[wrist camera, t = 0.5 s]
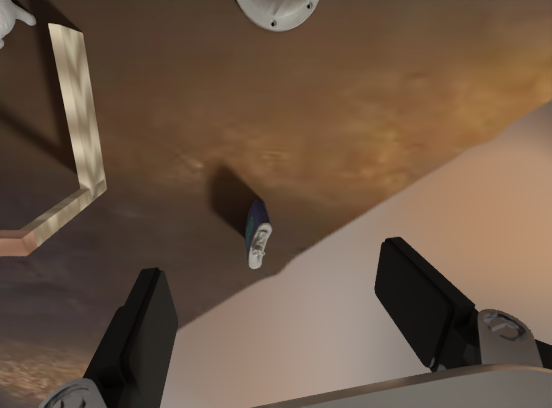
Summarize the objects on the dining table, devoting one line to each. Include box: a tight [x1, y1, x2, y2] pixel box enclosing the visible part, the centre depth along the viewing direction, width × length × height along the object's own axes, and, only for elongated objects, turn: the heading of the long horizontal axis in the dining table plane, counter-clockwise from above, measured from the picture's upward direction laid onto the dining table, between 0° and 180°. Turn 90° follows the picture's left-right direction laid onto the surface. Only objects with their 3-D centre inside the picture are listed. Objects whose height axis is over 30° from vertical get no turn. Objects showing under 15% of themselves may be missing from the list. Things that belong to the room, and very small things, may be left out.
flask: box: [245, 199, 272, 269], centre depth 45 cm, size 9×3×11 cm, turn 165°
